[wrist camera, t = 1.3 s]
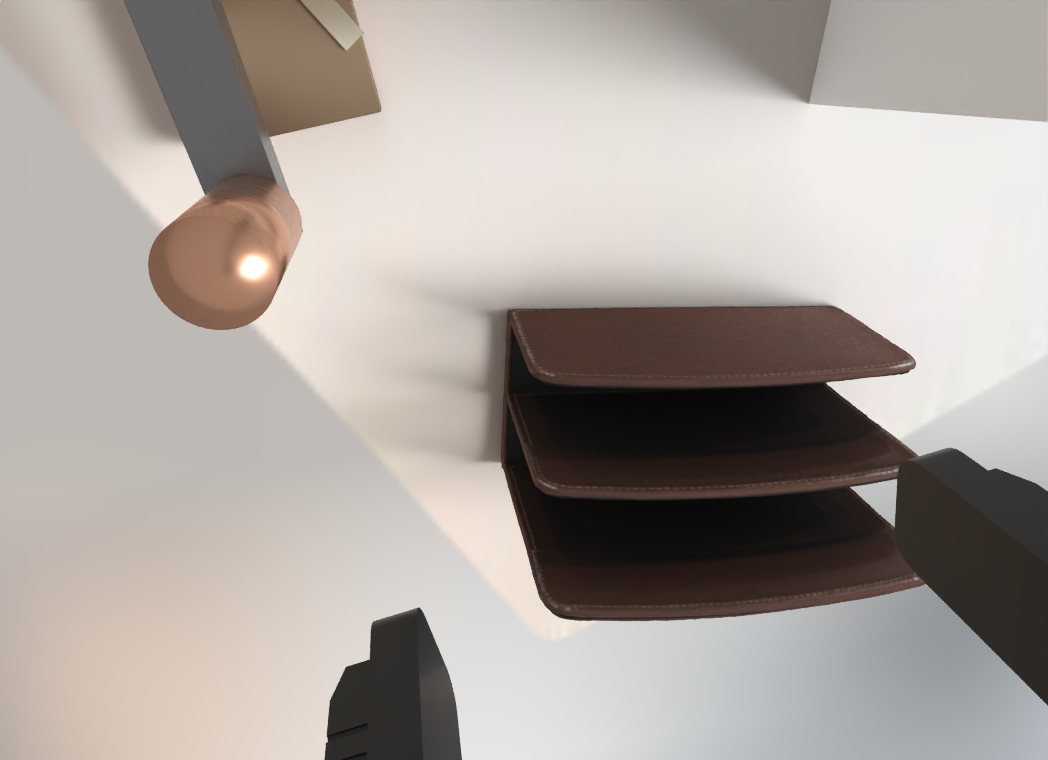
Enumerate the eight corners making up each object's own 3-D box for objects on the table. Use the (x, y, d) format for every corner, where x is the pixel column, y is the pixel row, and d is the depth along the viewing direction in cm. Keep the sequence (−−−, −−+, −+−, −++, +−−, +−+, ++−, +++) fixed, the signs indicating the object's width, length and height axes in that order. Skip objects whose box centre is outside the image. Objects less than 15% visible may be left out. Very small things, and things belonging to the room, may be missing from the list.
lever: (-32, -336, 17) (-290, -565, 11) (123, -363, 18) (-36, -604, 11) (224, 265, 25) (165, 345, 19) (329, 241, 25) (307, 311, 19)
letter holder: (796, 446, 44) (955, 604, 32) (498, 461, 40) (546, 647, 28) (836, 302, 40) (1038, 422, 27) (505, 306, 36) (565, 445, 24)
